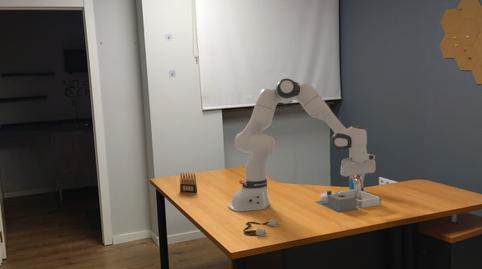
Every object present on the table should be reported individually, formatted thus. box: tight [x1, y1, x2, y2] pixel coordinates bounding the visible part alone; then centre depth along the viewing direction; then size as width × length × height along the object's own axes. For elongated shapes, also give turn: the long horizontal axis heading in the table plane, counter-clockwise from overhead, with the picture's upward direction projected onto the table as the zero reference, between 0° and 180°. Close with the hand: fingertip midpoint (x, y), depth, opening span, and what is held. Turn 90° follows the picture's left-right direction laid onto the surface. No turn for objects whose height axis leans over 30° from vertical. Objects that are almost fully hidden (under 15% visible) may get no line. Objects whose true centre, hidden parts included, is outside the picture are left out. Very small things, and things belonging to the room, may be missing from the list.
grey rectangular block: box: [315, 190, 359, 214], centre depth 240 cm, size 12×22×8 cm, turn 24°
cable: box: [242, 218, 280, 237], centre depth 214 cm, size 16×16×4 cm
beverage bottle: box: [348, 175, 365, 192], centre depth 270 cm, size 8×8×20 cm
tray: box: [336, 189, 382, 209], centre depth 246 cm, size 13×20×5 cm, turn 24°
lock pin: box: [355, 175, 363, 201], centre depth 245 cm, size 2×2×12 cm
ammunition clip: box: [179, 172, 198, 194], centre depth 282 cm, size 11×2×12 cm, turn 71°
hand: (357, 182), depth 245 cm, fingers closed on lock pin, 2 cm apart
